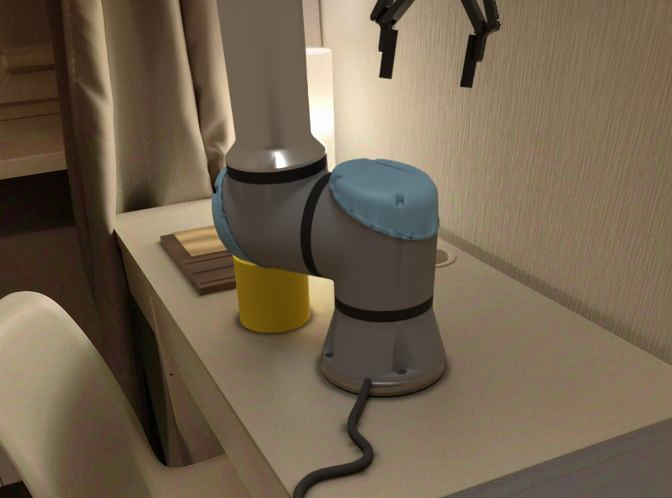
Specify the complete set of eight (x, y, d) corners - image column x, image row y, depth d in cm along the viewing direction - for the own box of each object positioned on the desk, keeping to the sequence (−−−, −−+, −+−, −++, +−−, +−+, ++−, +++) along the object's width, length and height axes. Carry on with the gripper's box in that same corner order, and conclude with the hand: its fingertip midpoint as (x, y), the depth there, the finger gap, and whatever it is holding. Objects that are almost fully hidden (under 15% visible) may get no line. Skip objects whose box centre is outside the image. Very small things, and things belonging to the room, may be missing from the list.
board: (303, 273, 115) (303, 265, 114) (200, 295, 110) (199, 286, 110) (250, 225, 134) (249, 218, 134) (160, 242, 130) (159, 234, 129)
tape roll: (275, 296, 109) (270, 233, 103) (324, 313, 103) (322, 248, 97) (225, 319, 103) (217, 255, 98) (274, 339, 98) (268, 272, 92)
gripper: (549, -90, 95) (512, 92, 105) (386, -88, 106) (366, 76, 117) (530, -104, 89) (492, 90, 100) (359, -101, 101) (341, 73, 111)
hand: (424, 83), depth 108 cm, fingers open, 13 cm apart
